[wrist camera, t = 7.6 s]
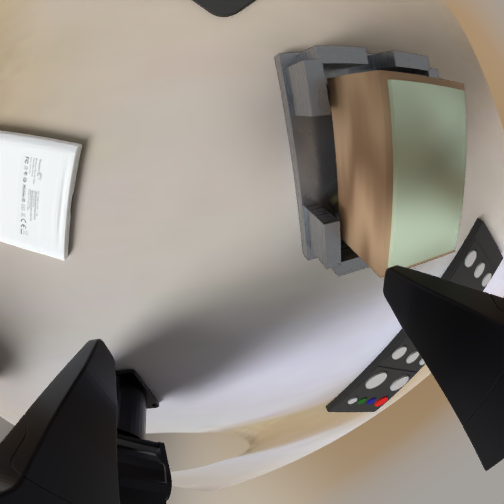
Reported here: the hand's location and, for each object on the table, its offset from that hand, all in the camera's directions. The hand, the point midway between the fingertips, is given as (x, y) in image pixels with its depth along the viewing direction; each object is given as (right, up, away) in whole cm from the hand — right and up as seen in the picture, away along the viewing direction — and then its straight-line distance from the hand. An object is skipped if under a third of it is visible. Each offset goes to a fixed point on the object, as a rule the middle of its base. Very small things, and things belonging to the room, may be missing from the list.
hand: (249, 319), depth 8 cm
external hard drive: (-18, +7, +7) cm, 20 cm away
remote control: (+22, -8, +23) cm, 33 cm away
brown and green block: (+8, +8, +8) cm, 14 cm away
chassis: (+7, +9, +10) cm, 15 cm away
